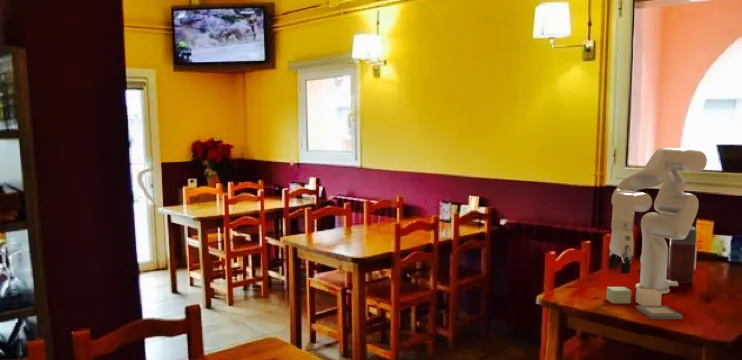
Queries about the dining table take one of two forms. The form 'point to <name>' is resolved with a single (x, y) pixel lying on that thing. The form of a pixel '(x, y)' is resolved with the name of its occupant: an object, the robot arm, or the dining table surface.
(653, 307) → the baseplate
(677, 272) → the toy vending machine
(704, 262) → the dining table surface
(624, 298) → the sage brick
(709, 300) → the dining table surface
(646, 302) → the cream brick
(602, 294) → the dining table surface
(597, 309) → the dining table surface
